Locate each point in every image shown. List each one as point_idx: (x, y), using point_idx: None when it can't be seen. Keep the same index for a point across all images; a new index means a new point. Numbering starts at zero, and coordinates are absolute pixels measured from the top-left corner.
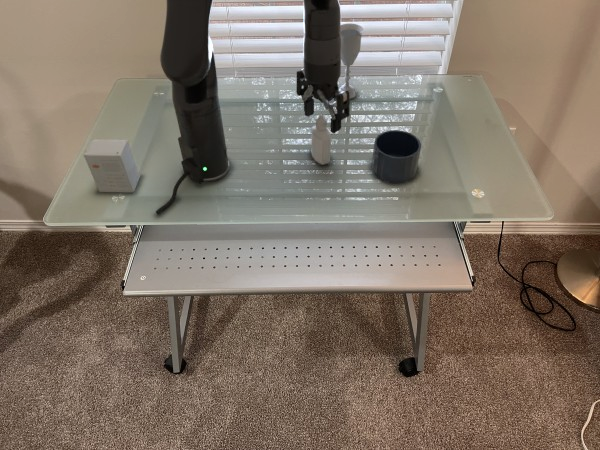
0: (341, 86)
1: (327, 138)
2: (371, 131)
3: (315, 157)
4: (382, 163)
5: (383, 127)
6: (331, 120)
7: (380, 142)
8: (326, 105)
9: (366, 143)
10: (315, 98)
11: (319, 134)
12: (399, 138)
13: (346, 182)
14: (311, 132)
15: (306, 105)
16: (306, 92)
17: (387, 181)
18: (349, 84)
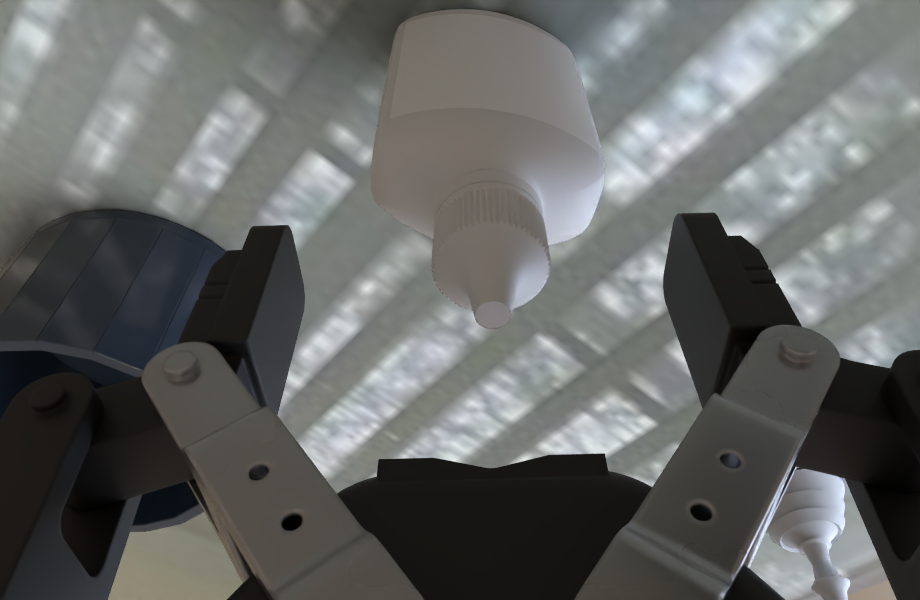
0: (837, 524)
1: (374, 171)
2: (476, 410)
3: (476, 20)
4: (29, 287)
5: (461, 457)
6: (240, 321)
7: None
8: (236, 466)
9: (412, 342)
10: (565, 457)
11: (437, 145)
12: None
13: (147, 27)
14: (582, 132)
15: (720, 302)
16: (752, 470)
17: (48, 223)
18: (803, 553)
